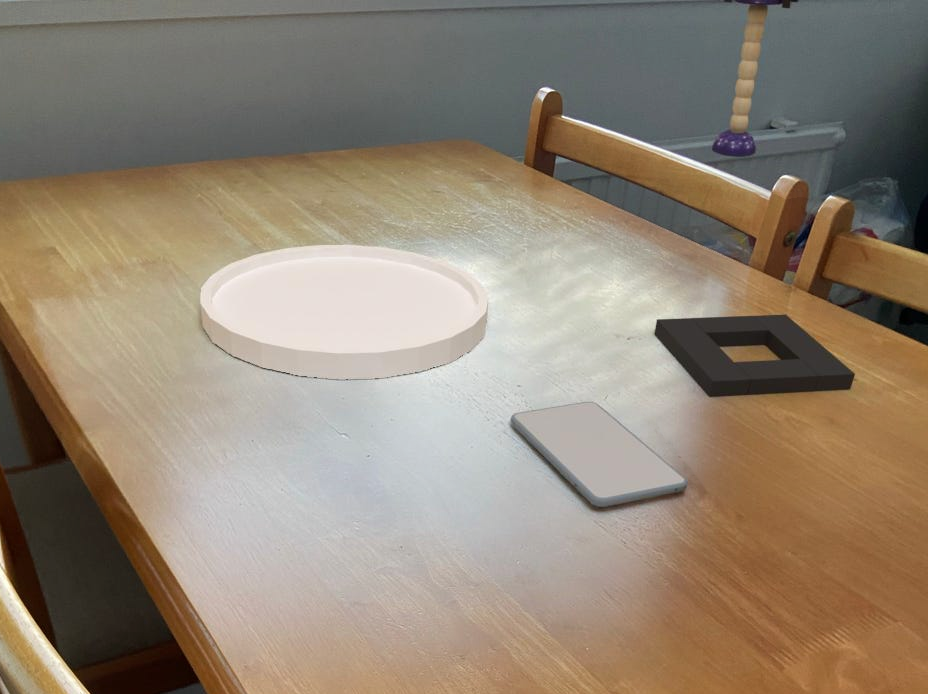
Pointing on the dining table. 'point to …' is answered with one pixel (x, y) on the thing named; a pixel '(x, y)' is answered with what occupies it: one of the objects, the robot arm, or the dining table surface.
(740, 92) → the toy lamp
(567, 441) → the smartphone
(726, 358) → the square frame
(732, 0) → the robot arm
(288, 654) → the dining table surface
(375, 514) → the dining table surface
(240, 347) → the plate
